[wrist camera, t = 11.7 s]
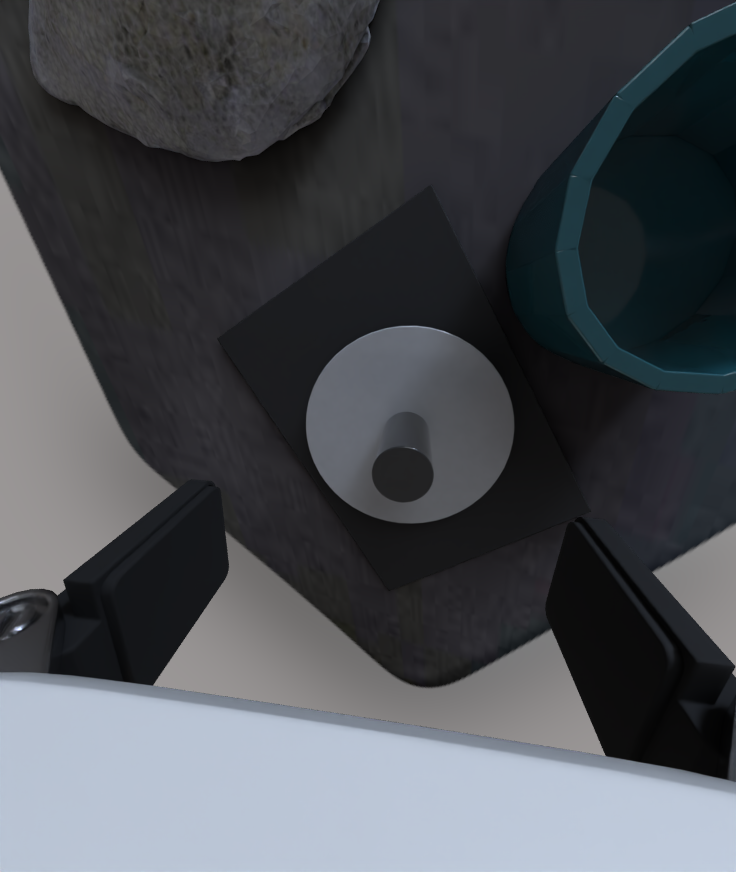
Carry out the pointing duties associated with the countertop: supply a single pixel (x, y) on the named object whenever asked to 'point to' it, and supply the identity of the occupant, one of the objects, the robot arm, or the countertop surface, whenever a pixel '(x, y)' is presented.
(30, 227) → the countertop surface
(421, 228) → the mat
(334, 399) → the lid
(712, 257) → the pot
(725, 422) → the countertop surface
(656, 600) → the robot arm
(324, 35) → the stone
